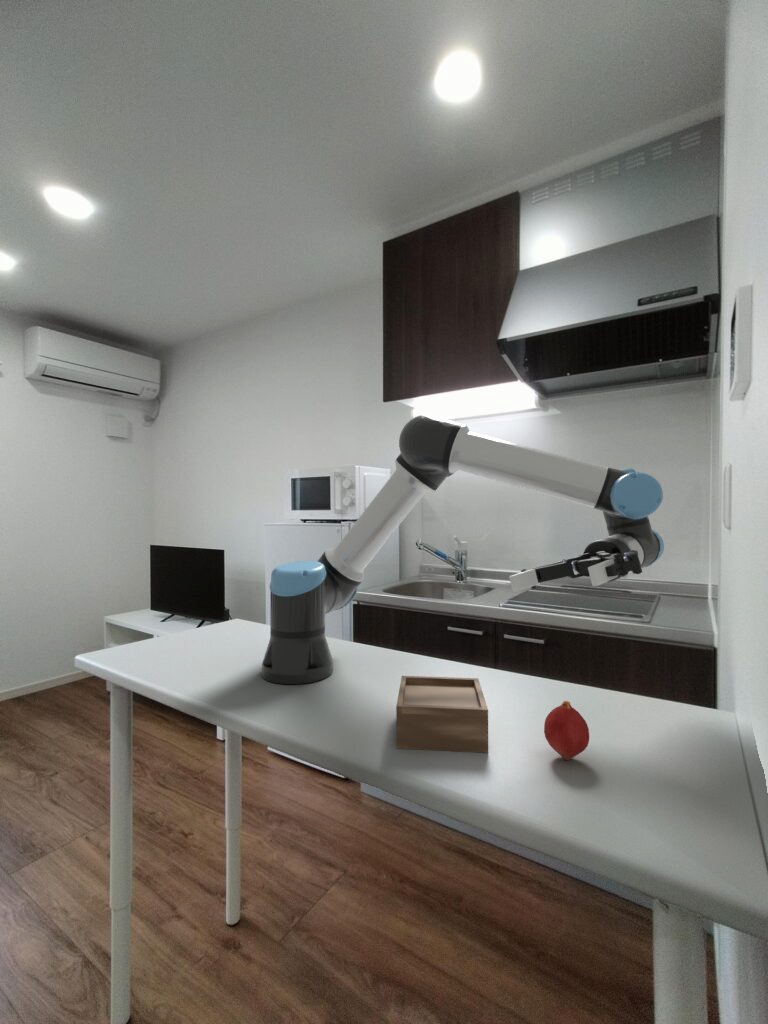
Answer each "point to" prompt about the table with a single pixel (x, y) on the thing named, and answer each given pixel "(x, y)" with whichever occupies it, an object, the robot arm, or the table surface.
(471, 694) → the walnut tray
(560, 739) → the onion
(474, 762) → the table surface
